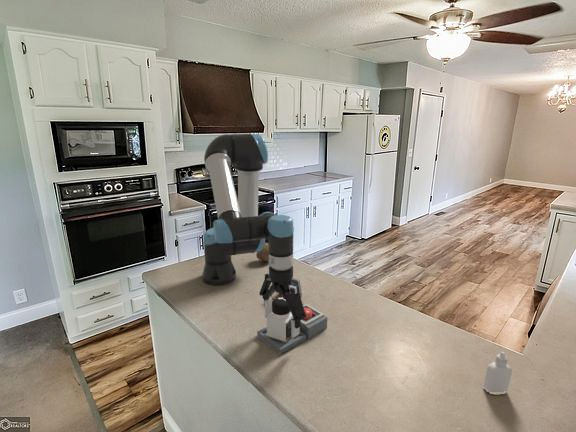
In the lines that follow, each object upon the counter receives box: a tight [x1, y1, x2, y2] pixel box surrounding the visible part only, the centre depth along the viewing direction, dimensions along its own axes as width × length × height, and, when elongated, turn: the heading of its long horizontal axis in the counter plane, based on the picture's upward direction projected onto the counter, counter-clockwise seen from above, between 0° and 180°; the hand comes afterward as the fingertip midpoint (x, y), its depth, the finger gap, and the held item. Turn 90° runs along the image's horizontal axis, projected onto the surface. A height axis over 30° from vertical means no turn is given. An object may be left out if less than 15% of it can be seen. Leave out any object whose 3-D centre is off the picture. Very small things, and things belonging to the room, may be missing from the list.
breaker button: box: [303, 308, 312, 321], centre depth 114 cm, size 4×4×4 cm
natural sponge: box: [255, 242, 269, 263], centre depth 165 cm, size 9×9×10 cm
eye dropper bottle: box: [483, 351, 513, 392], centre depth 85 cm, size 4×6×12 cm
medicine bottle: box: [266, 297, 293, 342], centre depth 105 cm, size 7×7×12 cm
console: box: [256, 303, 328, 356], centre depth 110 cm, size 12×21×5 cm, turn 131°
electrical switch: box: [280, 277, 303, 298], centre depth 132 cm, size 9×5×9 cm, turn 57°
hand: (281, 325), depth 106 cm, fingers open, 13 cm apart
